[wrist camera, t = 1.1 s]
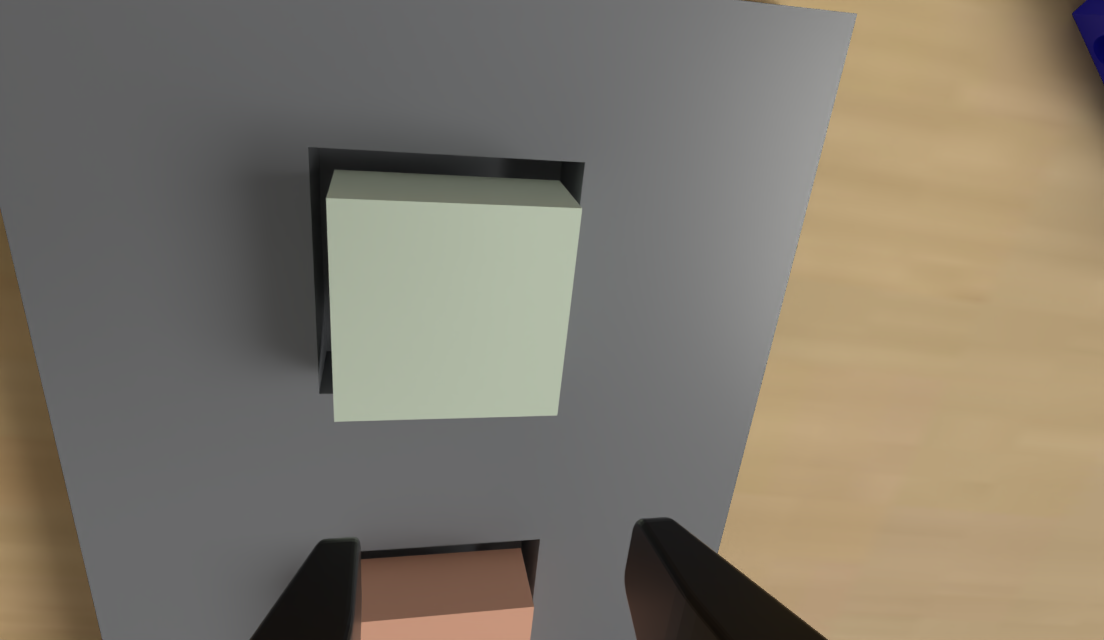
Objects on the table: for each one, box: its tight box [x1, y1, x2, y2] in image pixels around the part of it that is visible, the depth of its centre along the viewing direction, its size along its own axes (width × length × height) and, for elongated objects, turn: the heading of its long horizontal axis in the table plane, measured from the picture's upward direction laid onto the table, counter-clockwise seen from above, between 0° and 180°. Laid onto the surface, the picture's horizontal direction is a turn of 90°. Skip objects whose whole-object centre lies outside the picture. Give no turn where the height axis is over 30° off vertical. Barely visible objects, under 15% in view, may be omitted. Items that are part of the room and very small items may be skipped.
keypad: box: [0, 0, 857, 640], centre depth 20 cm, size 32×16×3 cm, turn 174°
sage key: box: [326, 170, 582, 422], centre depth 14 cm, size 4×4×2 cm
